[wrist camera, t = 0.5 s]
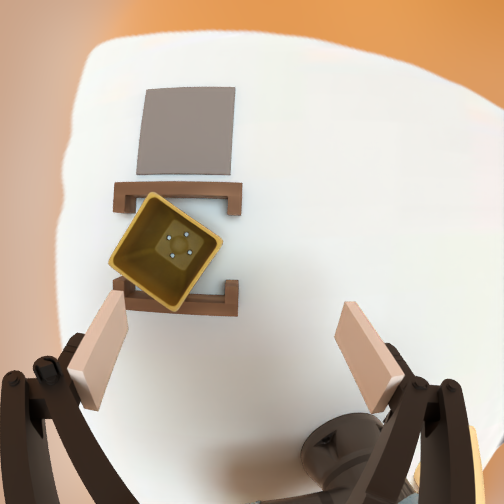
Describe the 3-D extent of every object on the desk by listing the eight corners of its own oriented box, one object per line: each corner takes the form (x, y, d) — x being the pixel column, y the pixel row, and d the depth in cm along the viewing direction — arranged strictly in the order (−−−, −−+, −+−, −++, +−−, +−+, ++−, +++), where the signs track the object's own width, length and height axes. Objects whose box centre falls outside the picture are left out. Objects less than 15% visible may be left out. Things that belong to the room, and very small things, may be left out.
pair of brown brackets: (237, 307, 38) (237, 316, 34) (125, 300, 37) (114, 308, 33) (241, 187, 36) (242, 182, 32) (126, 186, 35) (114, 182, 31)
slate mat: (230, 174, 36) (230, 174, 35) (137, 174, 35) (136, 173, 35) (235, 89, 35) (235, 87, 34) (147, 91, 34) (146, 89, 34)
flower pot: (188, 294, 37) (174, 314, 28) (134, 254, 36) (105, 263, 27) (228, 236, 37) (225, 240, 28) (171, 197, 36) (151, 189, 27)
